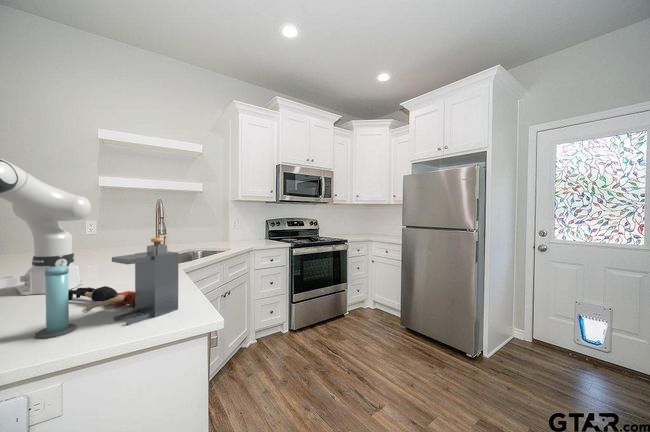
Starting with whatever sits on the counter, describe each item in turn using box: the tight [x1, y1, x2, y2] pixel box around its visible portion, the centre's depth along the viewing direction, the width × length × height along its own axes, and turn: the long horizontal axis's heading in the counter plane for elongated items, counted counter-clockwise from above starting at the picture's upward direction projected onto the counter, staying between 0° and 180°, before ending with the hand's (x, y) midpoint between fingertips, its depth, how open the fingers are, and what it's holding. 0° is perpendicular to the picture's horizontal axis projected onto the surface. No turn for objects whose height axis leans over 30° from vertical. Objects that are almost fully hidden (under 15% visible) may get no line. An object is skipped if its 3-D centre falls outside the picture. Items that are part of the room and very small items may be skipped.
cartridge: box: [45, 266, 70, 333], centre depth 74 cm, size 5×5×17 cm
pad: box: [34, 322, 77, 340], centre depth 74 cm, size 8×8×1 cm
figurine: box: [68, 285, 135, 314], centre depth 97 cm, size 29×6×30 cm
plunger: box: [150, 237, 164, 246], centre depth 89 cm, size 3×3×4 cm
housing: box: [111, 243, 179, 326], centre depth 86 cm, size 10×15×22 cm, turn 155°
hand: (5, 276), depth 66 cm, fingers open, 8 cm apart
